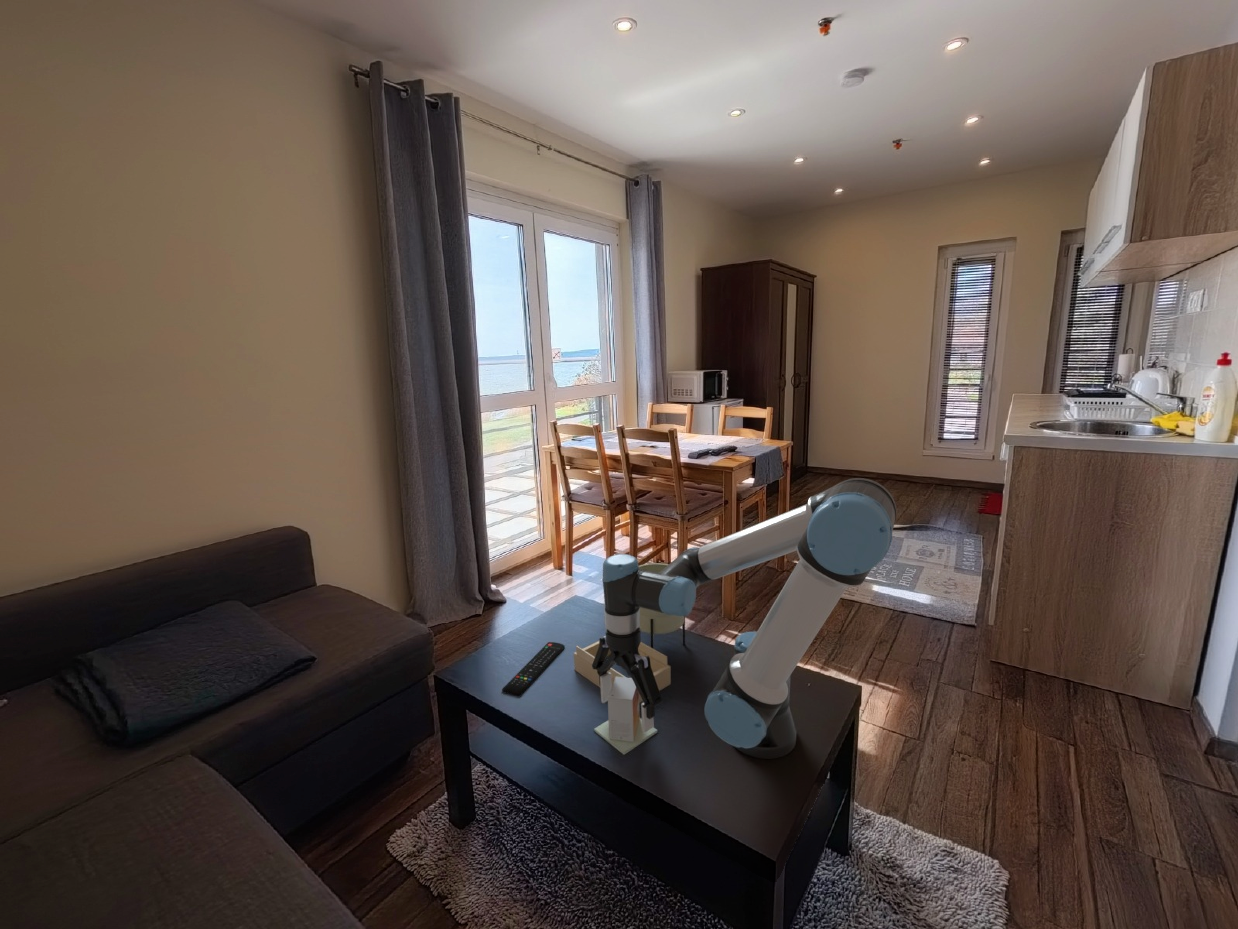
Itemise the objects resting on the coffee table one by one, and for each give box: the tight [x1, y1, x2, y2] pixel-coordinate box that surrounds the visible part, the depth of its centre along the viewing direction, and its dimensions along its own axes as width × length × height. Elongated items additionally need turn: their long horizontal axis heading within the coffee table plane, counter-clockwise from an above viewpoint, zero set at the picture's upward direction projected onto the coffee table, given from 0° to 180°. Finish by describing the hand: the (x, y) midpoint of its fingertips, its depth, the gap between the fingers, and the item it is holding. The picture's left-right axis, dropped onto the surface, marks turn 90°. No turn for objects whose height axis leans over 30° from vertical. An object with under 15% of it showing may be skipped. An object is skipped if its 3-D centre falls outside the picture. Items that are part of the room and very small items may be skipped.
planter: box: [639, 562, 686, 649], centre depth 152 cm, size 15×16×23 cm
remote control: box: [501, 641, 566, 697], centre depth 147 cm, size 5×24×1 cm, turn 157°
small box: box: [607, 676, 641, 742], centre depth 121 cm, size 8×6×10 cm
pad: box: [593, 717, 658, 756], centre depth 122 cm, size 10×10×1 cm
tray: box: [573, 640, 672, 704], centre depth 141 cm, size 22×14×7 cm, turn 41°
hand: (626, 714), depth 121 cm, fingers open, 13 cm apart
